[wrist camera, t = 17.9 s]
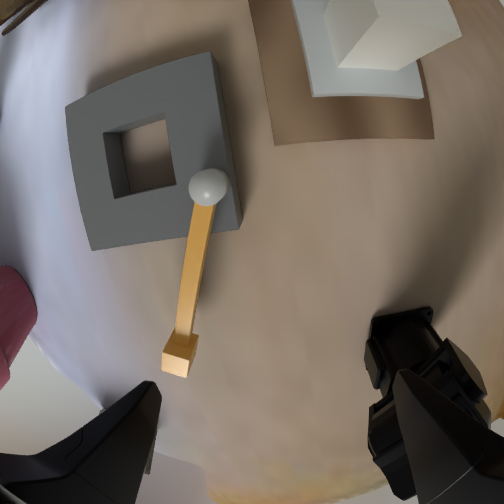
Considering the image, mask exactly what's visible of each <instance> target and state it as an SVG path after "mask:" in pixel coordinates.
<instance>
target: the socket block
mask: <svg viewBox="0 0 504 504" xmlns="http://www.w3.org/2000/svg"><path fill="white" fill-rule="evenodd" d="M65 113H66V125H67V134H68V143H69V150H70V157H71V164H72V170H73V176H74V181H75V186H76V191H77V196H78V200H79V205H80V209H81V213H82V217H83V221H84V225H85V229H86V233H87V236H88V240H89V243H90V247H91V250H92V251H95V250H101V249H107V248H114V247H120V246H126V245H133V244H139V243H146V242H152V241H159V240H166V239H173V238H180V237H187V236H188V235H189V230H190V224H191V219H192V213H193V208H194V203H195V201H194V200H193V199H192V198H191V196H190V194H189V182H190V180H191V178H192V177H193V176H194V175H195V174H196V173H197V172H199V171H202V170H206V169H210V168H218V169H221V170H223V171H224V172H225V173H226V174H227V175H228V177H229V180H230V188H229V191H228V193H227V194H226V195H225V196H224V197H223V198H222V199H221V200H220V201H219V202H217V204H216V209H215V214H214V218H213V223H212V228H211V233H216V232H224V231H232V230H239V228H240V225H241V223H242V221H243V218H242V212H241V206H240V200H239V193H238V187H237V181H236V175H235V169H234V162H233V156H232V150H231V144H230V137H229V131H228V125H227V119H226V112H225V106H224V100H223V93H222V87H221V81H220V74H219V68H218V62H217V61H216V59H215V58H214V56H213V55H212V53H211V52H210V51H208V52H204V53H200V54H196V55H192V56H188V57H185V58H181V59H178V60H174V61H171V62H168V63H165V64H161V65H158V66H155V67H152V68H150V69H147V70H144V71H141V72H139V73H136V74H133V75H131V76H128V77H126V78H123V79H121V80H119V81H116V82H114V83H112V84H109V85H107V86H105V87H103V88H101V89H98V90H96V91H94V92H92V93H90V94H88V95H86V96H84V97H82V98H80V99H78V100H77V101H75V102H73V103H71V104H69V105H67V106H66V107H65ZM163 119H166V125H167V132H168V138H169V144H170V150H171V156H172V162H173V168H174V173H175V179H176V183H175V184H170V185H165V186H161V187H156V188H152V189H147V190H143V191H139V192H135V193H131V194H130V189H129V184H128V179H127V174H126V168H125V163H124V157H123V151H122V144H121V138H120V133H122V132H125V131H128V130H131V129H134V128H137V127H140V126H143V125H147V124H150V123H153V122H156V121H160V120H163Z"/></svg>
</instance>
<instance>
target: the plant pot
mask: <svg viewBox="0 0 504 504" xmlns="http://www.w3.org/2000/svg"><path fill="white" fill-rule="evenodd" d="M36 321H37V310H36V305H35V302H34V299H33V296H32V294H31V292H30V290H29V288H28V286H27V284H26V283H25V281H24V280H23V278H22V277H21V276H20V274H19V273H18V272H17V271H16V270H15V269H13V268H12V267H10V266H7V265H5V266H1V267H0V390H1V389H2V388H3V386H4V385H5V384H6V383H7V382H8V380H9V379H10V370H9V367H10V365H11V364H12V362H13V360H14V358H15V357H16V355H17V353H18V352H19V349H20V348H21V346H22V345H23V343H24V341H25V339H26V338H27V336H28V334H29V333H30V331H31V329H32V328H33V326H34V325H35V323H36Z"/></svg>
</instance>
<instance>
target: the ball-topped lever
mask: <svg viewBox="0 0 504 504" xmlns="http://www.w3.org/2000/svg"><path fill="white" fill-rule="evenodd" d="M229 188H230V180H229V177H228V175H227V174H226V173H225V172H224V171H223V170H221V169H218V168H210V169H206V170H202V171H199V172H197V173H196V174H195V175H194V176H193V177H192V178H191V180H190V182H189V194H190V196H191V198H192V199H193V200H194V201H195V203H194V208H193V213H192V219H191V224H190V230H189V235H188V241H187V247H186V253H185V259H184V266H183V273H182V279H181V286H180V294H179V301H178V309H177V317H176V326H175V329H174V331H173V333H172V334H171V336H170V338H169V340H168V342H167V344H166V346H165V348H164V350H163V352H162V368H161V370H162V371H165V372H168V373H172V374H175V375H178V376H181V377H184V378H187V376H188V373H189V370H190V368H191V365H192V362H193V359H194V357H195V354H196V349H197V343H198V338H199V335H196V334H193V333H192V331H193V325H194V319H195V313H196V307H197V301H198V295H199V290H200V284H201V279H202V273H203V268H204V263H205V258H206V252H207V247H208V242H209V238H210V233H211V228H212V223H213V218H214V214H215V209H216V204H217V202H219V201H220V200H221V199H222V198H223V197H224V196H225V195H226V194H227V193H228V191H229Z"/></svg>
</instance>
